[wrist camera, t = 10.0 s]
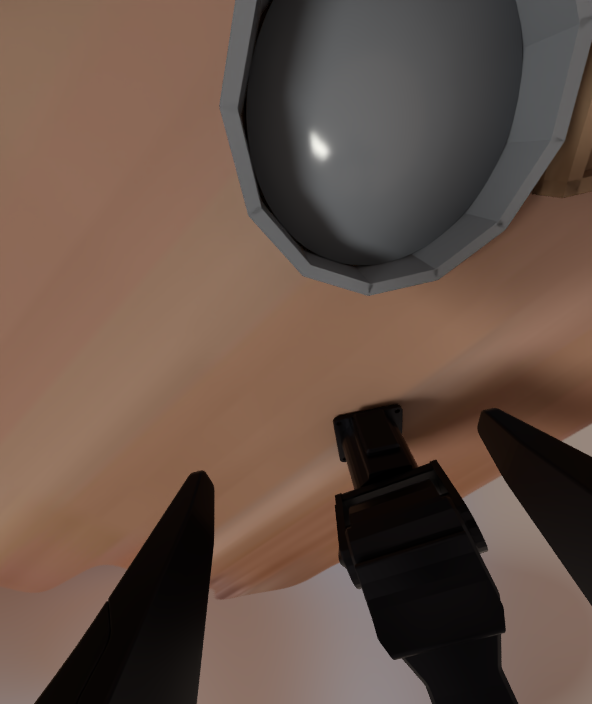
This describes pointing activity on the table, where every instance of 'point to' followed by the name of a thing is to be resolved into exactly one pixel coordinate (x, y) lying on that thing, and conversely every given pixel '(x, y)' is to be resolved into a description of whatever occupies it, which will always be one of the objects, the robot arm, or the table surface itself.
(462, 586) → the robot arm
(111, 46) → the table surface
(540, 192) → the tray
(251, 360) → the table surface
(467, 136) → the bowl
